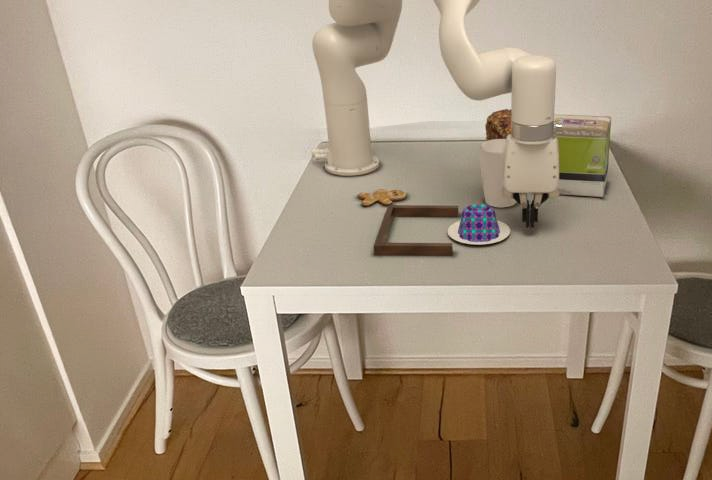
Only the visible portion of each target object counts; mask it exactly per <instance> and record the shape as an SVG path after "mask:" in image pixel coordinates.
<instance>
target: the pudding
mask: <svg viewBox="0 0 712 480" xmlns="http://www.w3.org/2000/svg"><path fill="white" fill-rule="evenodd" d="M447 234H448V236H449V237H450V238H451V239H453V240H454V241H457V242H459V243H461V244H467V245H489V244H494V243H498V242H501V241H503V240H505V239H506V238H508V237H509V236H510V234H511V228H510V227H509V225H508V224H507V223H505V222H503V221H501V220H498V218H497V214H496V210H495V209H494V208H493V206H490V205H488V204H487V203H484V204H482V203H475V204H469V205H467V206H466V207H464V209H463V210H462V212H461V217H460V220H458V221H456V222H454V223H452V224H451V225H450V226H448V228H447Z"/></svg>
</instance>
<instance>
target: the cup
mask: <svg viewBox="0 0 712 480" xmlns="http://www.w3.org/2000/svg"><path fill="white" fill-rule="evenodd" d="M505 144H506V139H493V140H488V141H487V140H485V141H483V142H481V143H480V144H479V157H478V161H479V168H480V174H481V182H482V183H481V184H482V188H483V194H484V202H485V204H486V205H489V206H490V207H492V208H493V207H494V208H500V209H501V208H509V207H513V206H514V205H516V204H517V203H518V202H517V201H516V200H515V199H514V198H508V197H504V196H502V189H503V185H504V182H503V167H504V152H505Z"/></svg>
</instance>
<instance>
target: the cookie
mask: <svg viewBox="0 0 712 480" xmlns="http://www.w3.org/2000/svg"><path fill="white" fill-rule="evenodd" d="M357 198H358V199H361V200H362V201H361V203H360V204H361V205H362V206H363V207H369V206H371V205H373V204H374V203H377V202H379V203H380V204H382V205H383V206H388V205H392V203H393V202H399V201H402V200H404V199H406V198H407V192H406V191H404V190H403V189H401V188H400V189H399V188H392V189H389V190H386V189H384V188H379V189H377V190H375V193H371V192H366V191H364V192H359V193H358V194H357Z"/></svg>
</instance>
